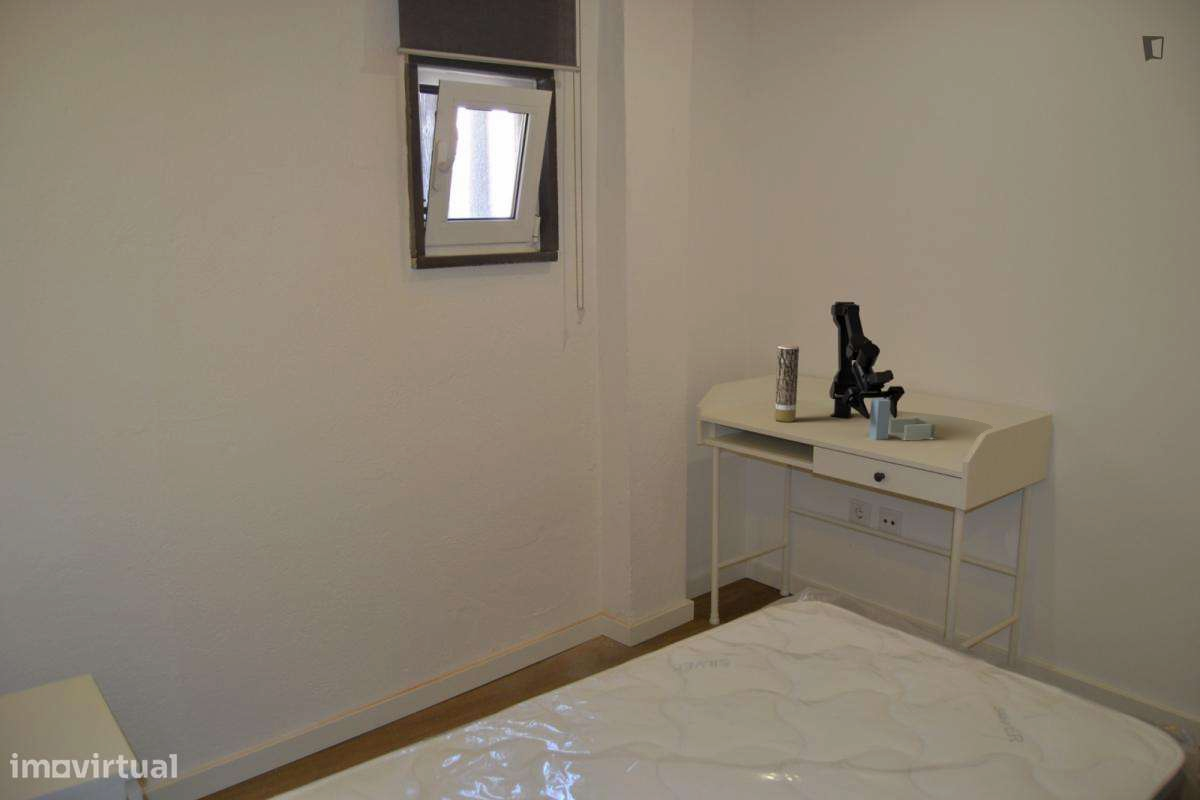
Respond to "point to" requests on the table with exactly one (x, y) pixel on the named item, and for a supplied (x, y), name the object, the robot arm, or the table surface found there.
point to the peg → (879, 418)
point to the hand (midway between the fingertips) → (882, 418)
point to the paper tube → (786, 383)
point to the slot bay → (911, 429)
